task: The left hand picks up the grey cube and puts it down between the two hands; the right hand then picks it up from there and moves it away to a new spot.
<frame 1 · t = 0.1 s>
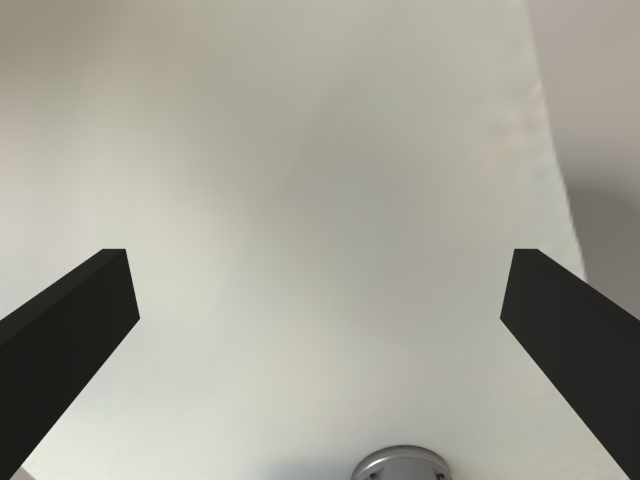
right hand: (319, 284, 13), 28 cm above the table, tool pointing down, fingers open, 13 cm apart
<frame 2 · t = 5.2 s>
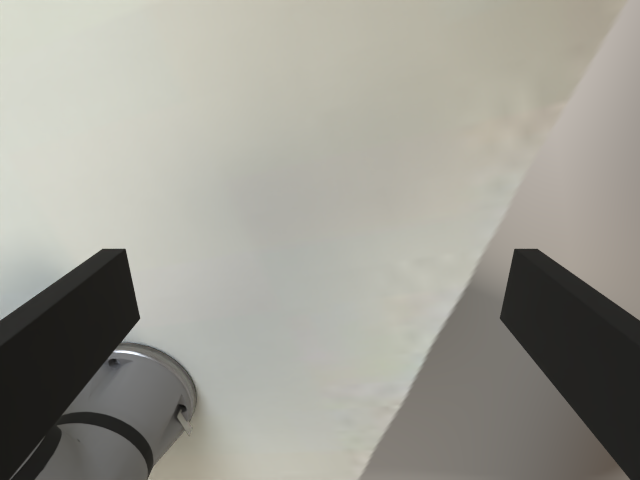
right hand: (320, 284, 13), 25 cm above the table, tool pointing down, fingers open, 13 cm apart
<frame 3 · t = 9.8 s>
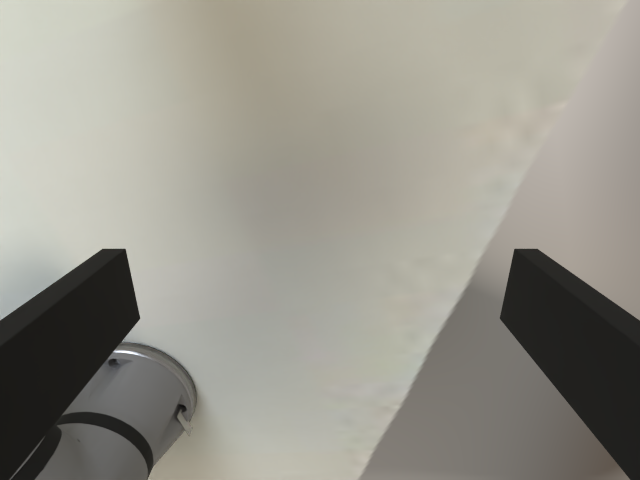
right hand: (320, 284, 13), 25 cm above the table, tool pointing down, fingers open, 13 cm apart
when the left hand's fingers open (3 cm above the table, at t = 14.6 s): grey cube drops 1 cm, on the table.
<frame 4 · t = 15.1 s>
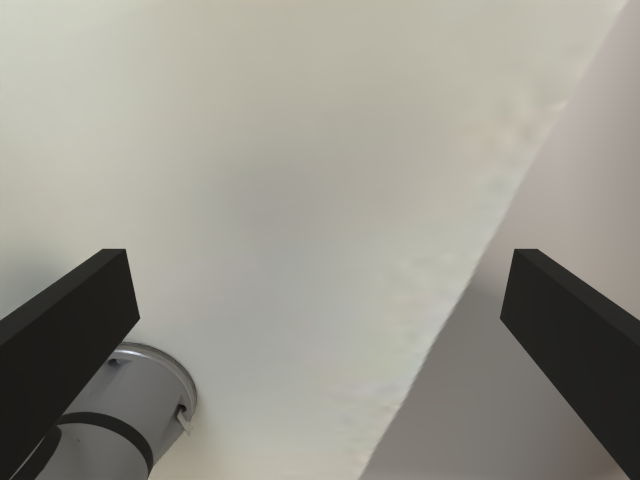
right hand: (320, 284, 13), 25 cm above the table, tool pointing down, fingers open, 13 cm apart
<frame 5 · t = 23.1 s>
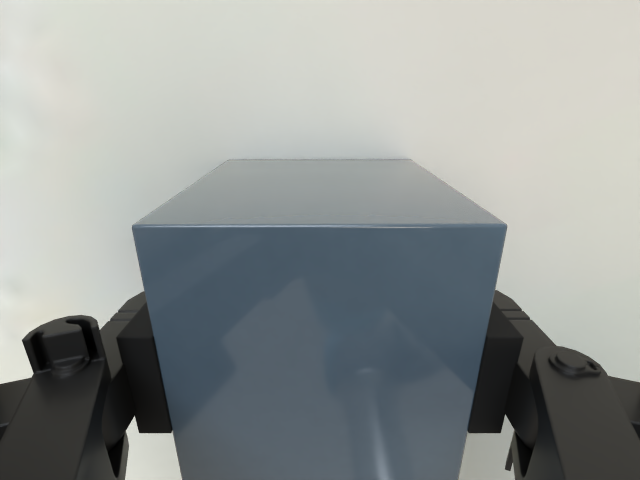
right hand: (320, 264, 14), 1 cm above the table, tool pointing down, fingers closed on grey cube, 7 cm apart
grey cube: (319, 251, 15), on the table, touching right hand
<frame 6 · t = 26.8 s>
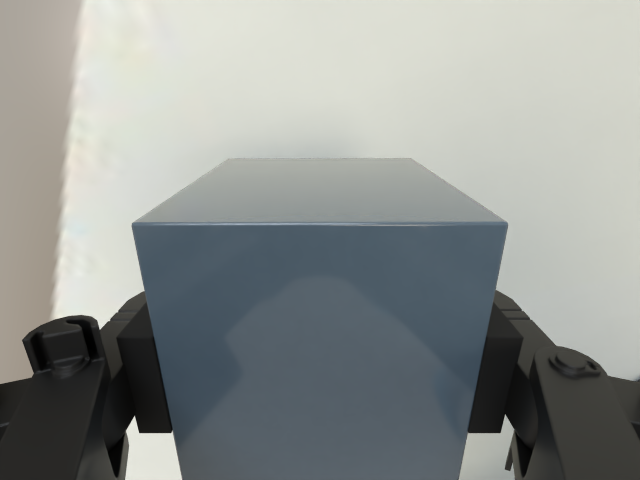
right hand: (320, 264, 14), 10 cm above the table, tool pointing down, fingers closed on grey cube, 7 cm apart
grey cube: (320, 251, 15), point 9 cm above the table, touching right hand
when the right hand's fingers open (3 cm above the table, at t = 30.6 s): grey cube drops 1 cm, on the table.
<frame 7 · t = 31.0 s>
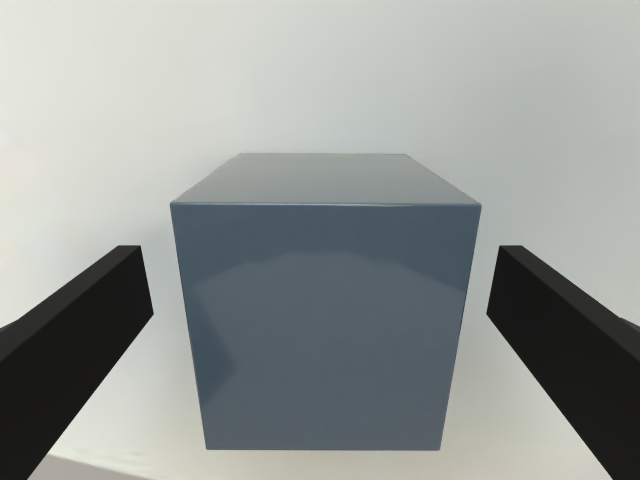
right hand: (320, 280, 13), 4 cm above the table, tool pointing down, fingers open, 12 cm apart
grey cube: (322, 239, 17), on the table
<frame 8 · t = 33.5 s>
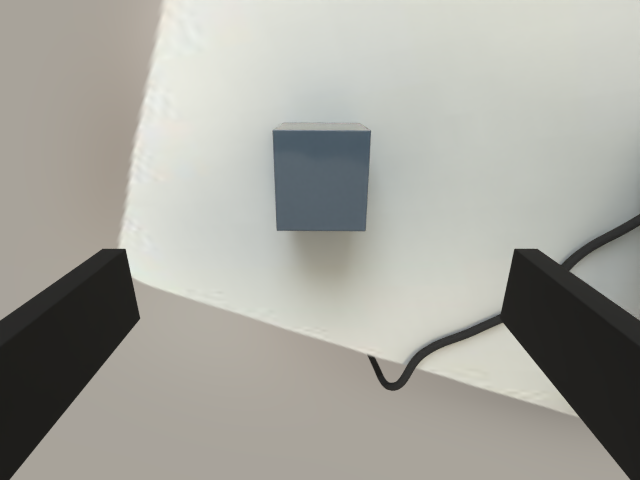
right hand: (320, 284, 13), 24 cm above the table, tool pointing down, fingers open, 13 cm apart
grey cube: (321, 165, 35), on the table
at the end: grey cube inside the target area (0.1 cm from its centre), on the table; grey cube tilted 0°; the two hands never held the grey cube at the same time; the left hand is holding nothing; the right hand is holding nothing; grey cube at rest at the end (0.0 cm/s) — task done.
